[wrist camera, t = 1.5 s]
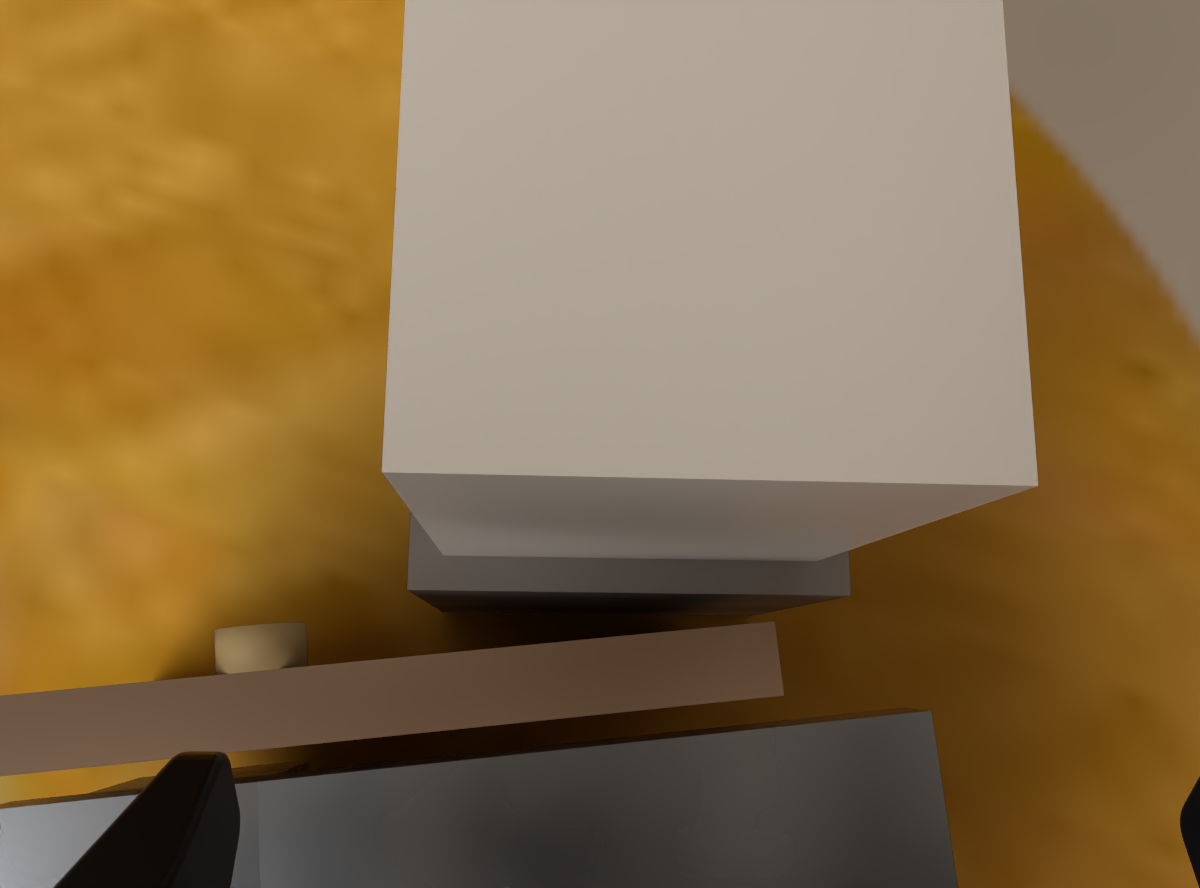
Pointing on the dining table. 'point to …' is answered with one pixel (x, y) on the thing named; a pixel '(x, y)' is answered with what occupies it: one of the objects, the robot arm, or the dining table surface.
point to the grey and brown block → (572, 814)
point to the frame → (378, 694)
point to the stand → (618, 583)
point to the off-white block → (704, 276)
